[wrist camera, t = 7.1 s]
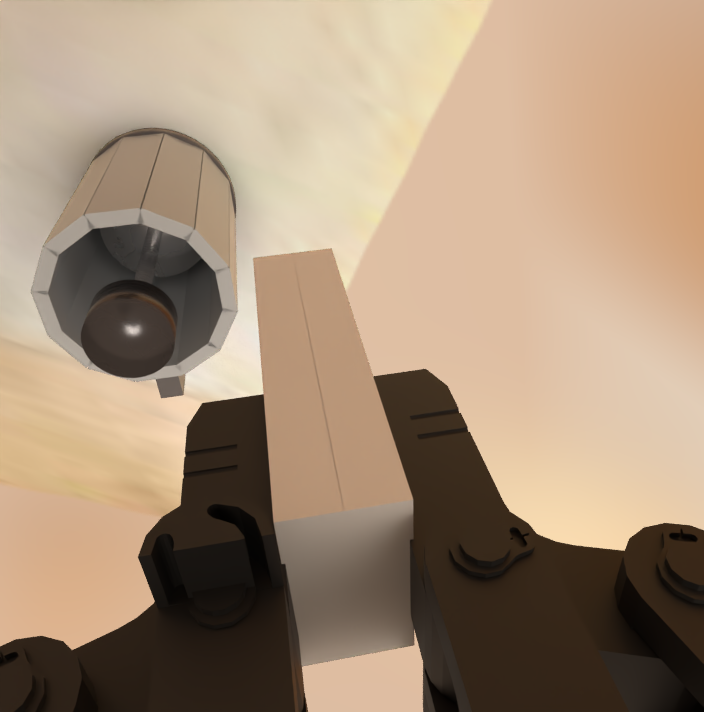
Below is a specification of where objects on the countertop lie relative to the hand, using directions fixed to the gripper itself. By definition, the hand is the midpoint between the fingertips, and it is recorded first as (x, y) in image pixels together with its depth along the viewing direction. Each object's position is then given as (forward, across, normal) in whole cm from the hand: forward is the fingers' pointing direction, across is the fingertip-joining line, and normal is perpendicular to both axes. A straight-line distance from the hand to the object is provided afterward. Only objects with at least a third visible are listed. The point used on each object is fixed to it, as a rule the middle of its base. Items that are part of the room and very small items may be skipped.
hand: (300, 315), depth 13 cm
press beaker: (+36, -8, -11) cm, 39 cm away
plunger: (+32, -8, -10) cm, 35 cm away
